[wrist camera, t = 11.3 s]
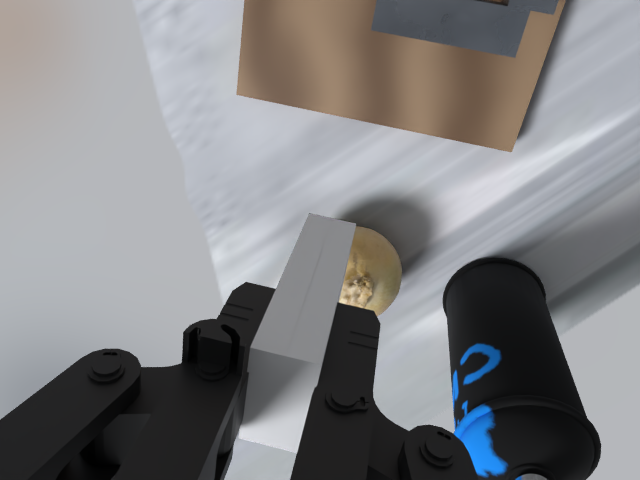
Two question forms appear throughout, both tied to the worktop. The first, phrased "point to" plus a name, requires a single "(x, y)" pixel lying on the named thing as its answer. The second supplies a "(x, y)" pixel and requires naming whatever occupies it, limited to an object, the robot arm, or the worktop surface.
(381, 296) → the onion
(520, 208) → the worktop surface
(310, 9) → the base
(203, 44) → the worktop surface
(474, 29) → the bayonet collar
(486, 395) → the aerosol can
